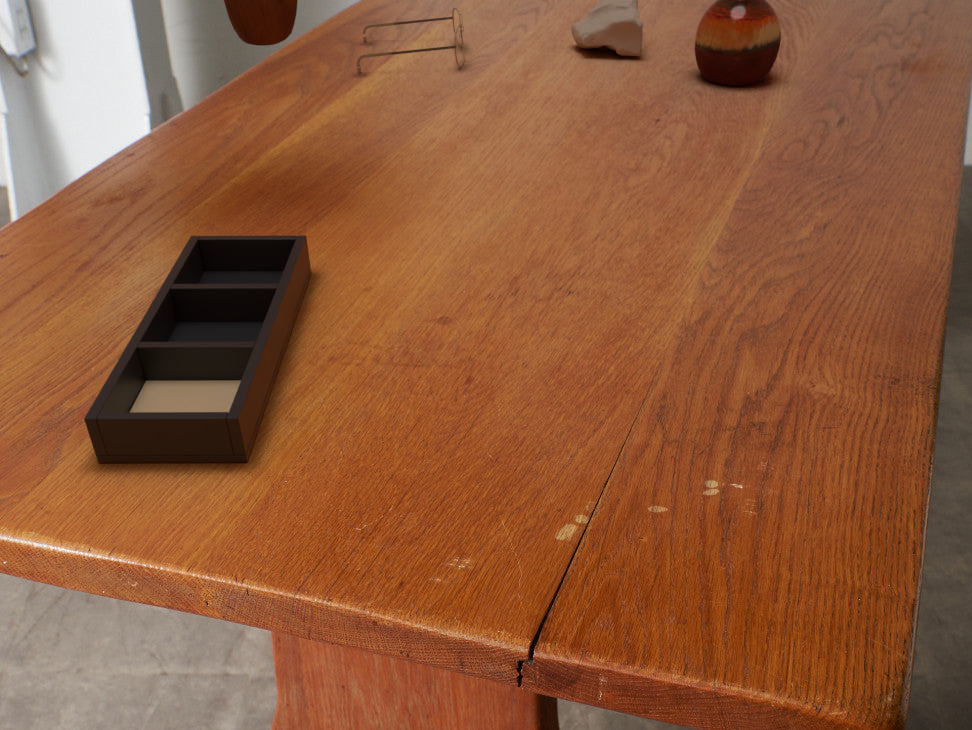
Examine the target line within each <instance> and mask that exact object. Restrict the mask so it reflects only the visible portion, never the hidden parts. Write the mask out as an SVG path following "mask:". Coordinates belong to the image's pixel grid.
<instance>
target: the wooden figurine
mask: <svg viewBox="0 0 972 730" xmlns="http://www.w3.org/2000/svg"><path fill="white" fill-rule="evenodd" d="M223 3H224V6H225V10H226V12H227V16H228V19H229V21H230V23H231V27H232V28H233V30H234V32H235V33H236V35H237V36H238V38H239V39H240V40H241V41H242V42H243V43H245V44H247V45H252V46H274V45H277V44H280V43H282V42H283V41H285V40H287V39H288V38H289V37H290V35H292V33H293V30H294V26H295V24H296V23H295V22H296V18H297V13H298V12H297V11H298V10H297V9H298V0H223Z"/></svg>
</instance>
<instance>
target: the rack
mask: <svg viewBox="0 0 972 730" xmlns="http://www.w3.org/2000/svg"><path fill="white" fill-rule="evenodd" d="M311 275H312V268H311V259H310V254H309V245H308V238H307V235H306V234H305V235H303V234H302V235H301V234H299V235H190V236H189V238H188V240H187V242H186V244H185V245H184V247H183V249H182V250H181V252H180V254H179V255H178V257H177V259H176V260H175V261H174V264H173V266H172V267H171V269H170V271H169V272H168V275H167V276H166V278H165V280H164V281H163V283H162V285H161V286H160V288H159V290H158V292H157V293H156V294H155V296H154V298H153V300H152V302H151V303H150V305H149V307H148V309H147V310H146V312H145V314H144V315H143V317H142V318H141V320H140V322H139V324H138V326H137V327H136V329H135V331H134V332H133V334H132V335H131V338H130V340H129V341H128V343H127V345H126V346H125V348H124V350H123V351H122V352H121V354H120V355H119V356H120V357H119V358H118V359H117V361H116V363H115V365H114V367H113V369H112V370H111V372H110V373H109V376H108V377H107V379H106V380H105V382H104V384H103V385H102V387H101V389H100V391H99V393H98V394H97V396H96V398H95V399H94V401H93V403H92V404H91V406H90V408H89V409H88V411H87V413H86V414H85V416H84V418H83V420H84V423H85V427H86V429H87V433H88V436H89V438H90V442H91V444H92V448H93V452H94V454H95V456H96V461H97V462H98V464H101V463H102V464H105V463H107V464H108V463H109V464H111V463H113V464H114V463H117V464H118V463H120V464H121V463H123V464H125V463H127V464H129V463H132V464H133V463H135V464H136V463H137V464H138V463H141V464H142V463H151V464H153V463H159V464H160V463H161V464H162V463H247V462H248V461H249V458H250V454H251V452H252V450H253V446H254V443H255V441H256V440H255V439H256V437H257V434H258V431H259V429H260V426H261V422H262V419H263V416H264V414H265V412H266V411H265V410H266V408H267V405H268V403H269V402H268V401H269V399H270V396H271V393H272V390H273V387H274V383H275V381H276V379H277V375H278V373H279V371H280V370H279V369H280V366H281V364H282V360H283V358H284V355H285V352H286V350H287V346H288V343H289V341H290V337H291V334H292V331H293V328H294V325H295V322H296V319H297V316H298V313H299V311H300V308H301V305H302V301H303V299H304V295H305V293H306V290H307V287H308V284H309V281H310V278H311Z"/></svg>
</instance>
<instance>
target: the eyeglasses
mask: <svg viewBox="0 0 972 730" xmlns="http://www.w3.org/2000/svg"><path fill="white" fill-rule="evenodd" d="M455 10H456V12H457V14H458V21H459V24H458V26H457V28H456V27H455V17H454V13H455ZM447 20H452V27H453V28H452V29H453V34H454V33H455V34H454V41H453V45H447V46H438V47H427V48H419V49H418V48H417V49H409V50H400V51H399V50H398V51H387V52H377V53H368V54H367V53H366V54H361V55H360V56H359V57H358V58H357V60H356V69H357V73H358V74H362V68H361V64H360V63H361V60H363V59H364V58H366V59H367V58H374V57H384V56H394V55H402V54H412V53H413V54H414V53H423V52H432V51H442V50H450V49H451V50H452V49H454V57H455V63H456V65H457V67H458V68H463V66H464V63H465V49H464V39H463V38H464V37H463V32H464V31H465V26H464V19H463V14H462V13H460V11H459V9H458V8H457V7H454V8H453V9H452V12H451V16H445V17H437V18H436V17H435V18H426V19H416V20H406V21H395V22H394V21H393V22H384V23H383V22H382V23H375V24H374V23H373V24H368V25H366V26H365V27H364V28H363V31H362V35H363V34H366V32H367V30H368V29H370V28H381V27H388V26H389V27H390V26H399V25H409V24H417V23H418V24H419V23H428V22H437V21H447ZM457 33H458V34H457ZM457 35H459V36H458V37H459V38H460V40H461V42H460V41H459V39H458V37H457ZM362 41H363V43H367V42H368V39H367V36H366V37H363V36H362ZM457 44H458V45H459V47H461V49H462V51H461V52H462V62H461V65H460V64H459V61H458V55H457ZM463 53H464V54H463ZM357 67H360V68H357Z"/></svg>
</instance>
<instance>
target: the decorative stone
mask: <svg viewBox="0 0 972 730" xmlns="http://www.w3.org/2000/svg"><path fill="white" fill-rule="evenodd" d="M638 7H639V0H600V1H599V2H598V3H597V4H595V6H594V7H593V8H592V9H591V10H590V11H589V12H588V13H587V15H586V17H585V18H584V19H581V21H578V22H573V23H572V24H571V35H572V38H573V40H574V42H575V44H576V45H577V46H578V47H579V48H580V49H583V50H585V49H597V48H600V47H604V46H605V47H606V48H608V49H609V50H611V51H614V52H616V54H617V55H619V56H622V57H640V56H641V54H642V50H643V49H642V48H643V45H642V44H643V35H644V30H643V29H644V28H643V27H644V24H643V20H642V19H640V13H639V8H638Z"/></svg>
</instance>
